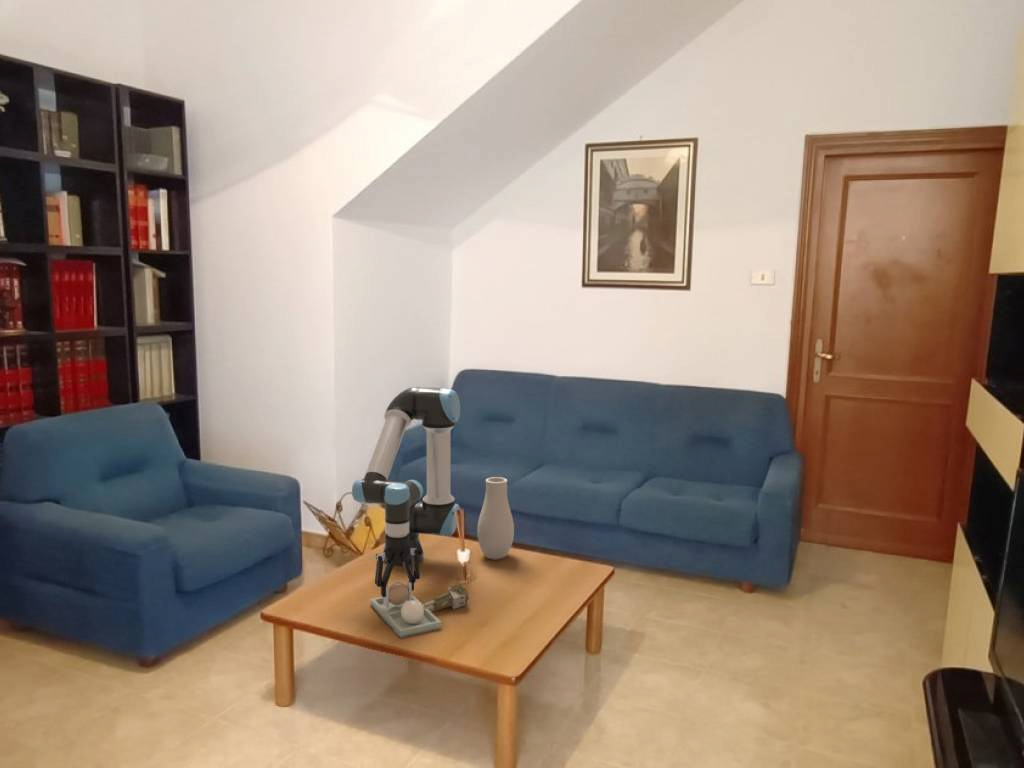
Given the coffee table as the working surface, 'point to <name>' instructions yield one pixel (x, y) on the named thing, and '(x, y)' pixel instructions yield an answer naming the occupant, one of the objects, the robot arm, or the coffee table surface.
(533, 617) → the coffee table surface
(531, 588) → the coffee table surface
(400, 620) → the divided tray
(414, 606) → the cream egg
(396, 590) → the pink ball
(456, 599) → the toy
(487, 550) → the vase
